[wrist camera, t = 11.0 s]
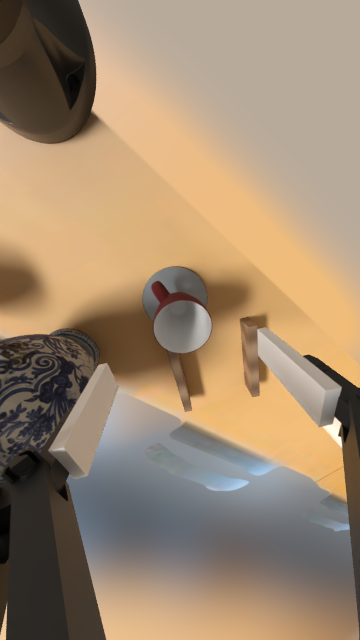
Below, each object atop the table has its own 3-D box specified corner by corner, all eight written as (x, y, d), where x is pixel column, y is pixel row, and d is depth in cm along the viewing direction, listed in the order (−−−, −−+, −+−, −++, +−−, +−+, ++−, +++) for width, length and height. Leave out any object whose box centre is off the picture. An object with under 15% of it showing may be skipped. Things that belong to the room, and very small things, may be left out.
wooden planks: (165, 335, 34) (165, 346, 31) (247, 317, 34) (257, 325, 30) (183, 397, 42) (185, 411, 38) (251, 382, 41) (259, 395, 38)
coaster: (134, 275, 29) (133, 275, 29) (201, 259, 29) (201, 259, 29) (153, 334, 34) (152, 335, 34) (210, 320, 34) (211, 321, 33)
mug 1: (137, 296, 30) (124, 317, 21) (168, 263, 29) (169, 270, 19) (177, 332, 34) (182, 363, 25) (207, 305, 32) (224, 327, 23)
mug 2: (362, 405, 48) (420, 452, 37) (324, 427, 51) (368, 477, 40) (351, 392, 45) (410, 438, 34) (312, 416, 48) (355, 465, 37)
